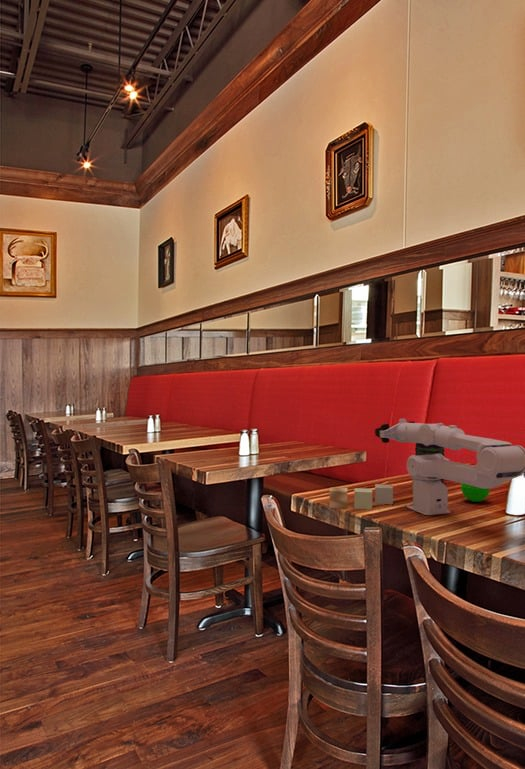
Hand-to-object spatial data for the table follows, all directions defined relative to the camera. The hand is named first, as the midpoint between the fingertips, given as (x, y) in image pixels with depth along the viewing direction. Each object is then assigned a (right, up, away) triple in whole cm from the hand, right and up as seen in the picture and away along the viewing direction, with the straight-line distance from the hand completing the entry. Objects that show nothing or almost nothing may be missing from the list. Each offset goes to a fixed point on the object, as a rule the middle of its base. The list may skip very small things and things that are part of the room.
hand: (386, 431), depth 170 cm
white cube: (-3, -21, -8) cm, 23 cm away
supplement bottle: (+12, -21, +5) cm, 24 cm away
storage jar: (+20, -20, +20) cm, 35 cm away
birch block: (-17, -21, -13) cm, 30 cm away
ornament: (+25, -21, -8) cm, 33 cm away
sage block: (-10, -21, -14) cm, 27 cm away
